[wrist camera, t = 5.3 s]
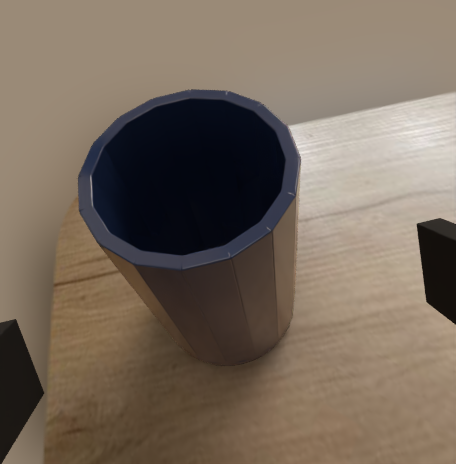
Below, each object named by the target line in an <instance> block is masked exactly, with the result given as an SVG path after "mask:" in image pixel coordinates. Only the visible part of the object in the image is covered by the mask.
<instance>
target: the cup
mask: <svg viewBox="0 0 456 464" xmlns="http://www.w3.org/2000/svg"><path fill="white" fill-rule="evenodd" d="M300 171H301V157H300V154H299V152H298V149H297V147H296V144H295V142H294V139H293V137H292V134H291V131H290V129H289V127H288V126H287V125H286V124H285V123H284V122H283V121H282V120H281V119H280V118H278V117H277V116H276V115H275V114H274V113H273V112H272V111H271V110H269V109H268V108H267V107H266V106H265V105H264V104H262V103H261V102H258V101H255V100H252V99H250V98H247V97H244V96H241V95H239V94H236V93H233V92H230V91H221V90H220V91H219V90H193V89H192V90H185V91H181V92H177V93H173V94H169V95H165V96H160V97H156V98H153V99H150V100H149V101H147V102H145V103H144V104H142V105H140V106H138V107H136V108H134V109H133V110H131V111H129V112H127V113H125V114H123V115H122V116H120V117H119V118H117V119H116V120H115V121H114V122H113V123H112V124H111V125H110V127H108V129H106V131H105V132H104V133H103V134H102V135H101V136H100V137H99V138H98V139H97V140H96V141H95V142H94V143H93V145H92V146H91V148H90V151H89V153H88V155H87V157H86V160H85V162H84V164H83V166H82V169H81V171H80V173H79V177H78V197H79V212H80V215H81V217H82V218H83V220H84V222H85V223H86V225H87V227H88V228H89V230H90V232H91V233H92V235H93V237H94V238H95V240H96V242H97V243H98V244H99V246H100V247H101V248H102V249H103V251H104V252H105V253H106V254H107V256H108V257H109V258H110V260H111V261H112V262H113V263H114V265H115V266H116V267H117V268H118V270H119V271H120V272H121V274H122V275H123V276H124V277H125V279H126V280H127V281H128V282H129V284H130V285H131V286H132V288H133V289H134V290H135V291H136V293H137V294H138V295H139V296H140V298H141V299H142V300H143V302H144V303H145V304H146V305H147V307H148V308H149V309H150V310H151V312H152V313H153V314H154V316H155V317H156V318H157V319H158V321H159V322H160V323H161V324H162V326H163V327H164V328H165V329H166V331H167V332H168V333H169V335H170V336H171V337H172V338H173V340H174V341H175V342H176V343H177V345H178V346H180V347H181V348H182V349H183V350H184V351H186V352H187V353H188V354H190V355H191V356H193V357H195V358H196V359H198V360H201V361H203V362H206V363H209V364H214V365H221V366H232V365H239V364H244V363H247V362H250V361H253V360H255V359H257V358H259V357H261V356H262V355H264V354H265V353H267V352H268V351H270V350H271V349H272V348H273V347H274V346H275V345H276V344H277V343H278V342H279V341H280V340H281V338H282V337H283V335H284V334H285V332H286V330H287V328H288V326H289V324H290V321H291V319H292V314H293V307H294V297H295V281H296V259H297V237H298V215H299V193H300Z"/></svg>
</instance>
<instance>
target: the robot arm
mask: <svg viewBox="0 0 456 464" xmlns="http://www.w3.org/2000/svg"><path fill="white" fill-rule="evenodd" d="M417 231H418V239H419V246H420V254H421V262H422V270H423V278H424V286H425V294H426V302H427V303H428V304H430V305H431V306H432V307H434V308H435V309H436V310H437V311H439V312H440V313H441V314H443V315H444V316H445V317H447V318H448V319H449V320H450V321H452V322H453V323H454V324H456V224H454V223H452V222H449V221H446V220H444V219H441V218H439V219H434V220H430V221H426V222H422V223H418V224H417ZM43 394H44V391H43V389H42V386H41V383H40V381H39V378H38V375H37V373H36V370H35V368H34V365H33V362H32V360H31V357H30V354H29V352H28V349H27V347H26V344H25V341H24V339H23V336H22V334H21V331H20V328H19V326H18V323H17V320H16V319H14V320H10V321H6V322H2V323H0V464H2V462H3V460H4V459H5V457H6V455H7V454H8V452H9V450H10V449H11V447H12V445H13V443H14V442H15V441H16V439H17V437H18V435H19V434H20V432H21V431H22V429H23V427H24V425H25V424H26V422H27V421H28V419H29V417H30V416H31V414H32V412H33V411H34V409H35V408H36V406H37V404H38V403H39V401H40V399H41V398H42V396H43Z"/></svg>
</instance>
